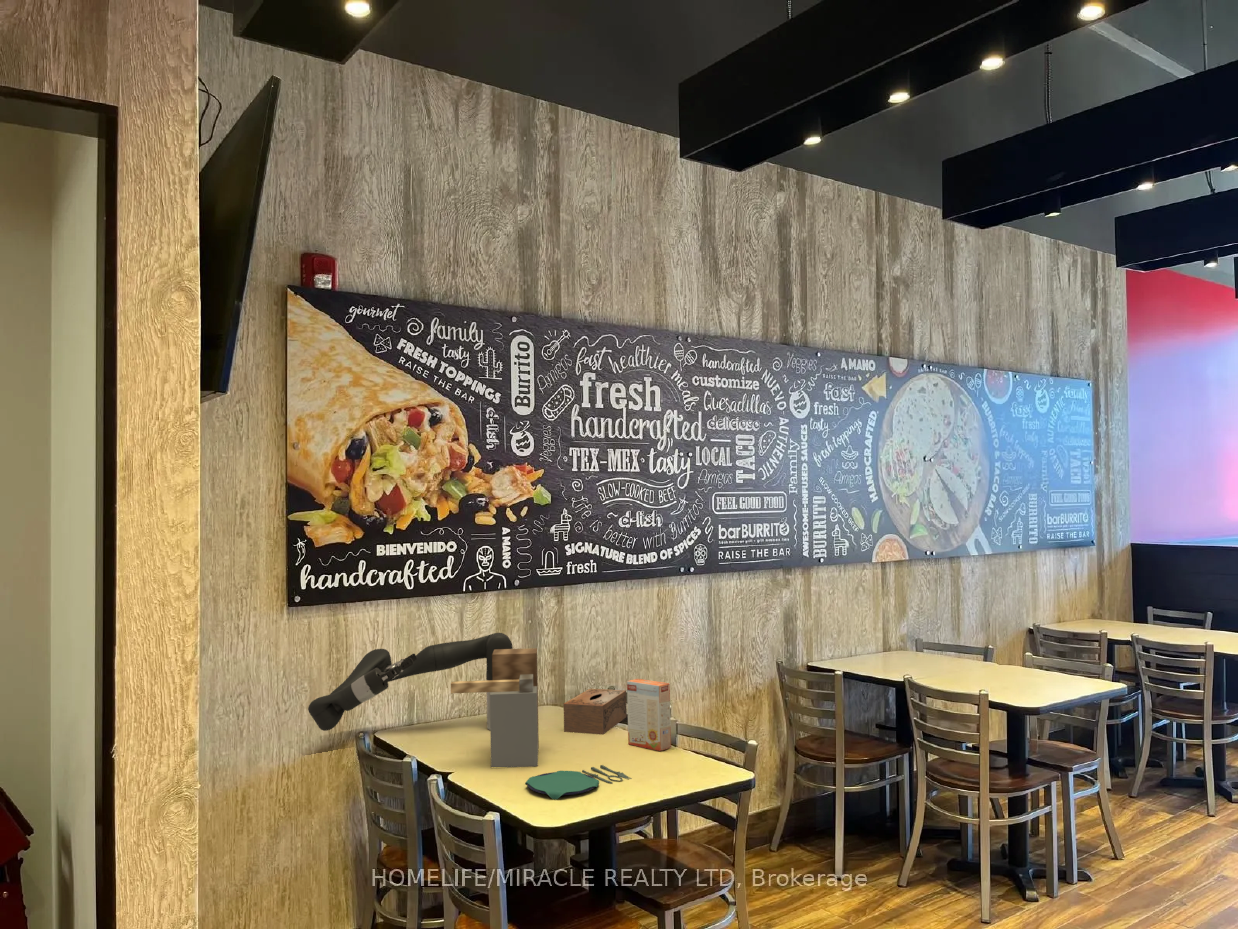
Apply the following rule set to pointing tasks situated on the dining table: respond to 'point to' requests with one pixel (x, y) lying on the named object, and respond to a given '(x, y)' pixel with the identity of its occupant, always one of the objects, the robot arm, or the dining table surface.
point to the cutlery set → (569, 782)
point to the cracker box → (649, 714)
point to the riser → (515, 665)
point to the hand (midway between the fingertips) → (414, 658)
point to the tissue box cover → (595, 711)
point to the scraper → (494, 685)
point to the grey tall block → (514, 729)
